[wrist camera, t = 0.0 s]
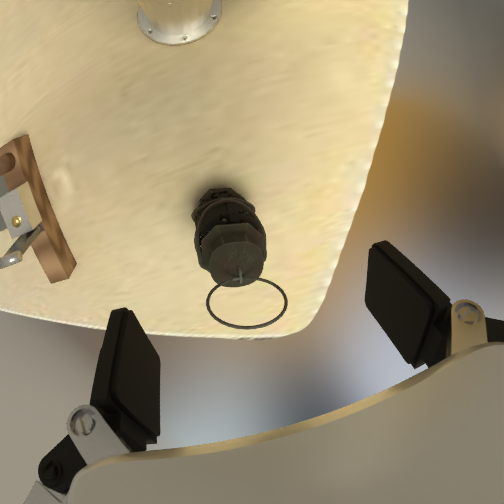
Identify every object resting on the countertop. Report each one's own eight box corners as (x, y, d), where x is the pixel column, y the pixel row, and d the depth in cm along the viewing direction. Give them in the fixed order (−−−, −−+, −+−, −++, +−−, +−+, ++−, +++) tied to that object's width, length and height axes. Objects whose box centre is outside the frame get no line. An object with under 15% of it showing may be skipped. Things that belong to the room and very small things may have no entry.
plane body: (11, 144, 32) (-14, 154, 26) (28, 134, 33) (3, 142, 26) (60, 269, 46) (45, 293, 39) (76, 263, 46) (63, 288, 39)
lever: (22, 230, 35) (-5, 262, 27) (40, 223, 36) (14, 254, 28) (26, 238, 36) (0, 271, 28) (44, 231, 37) (19, 263, 29)
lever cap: (7, 192, 32) (-5, 200, 29) (27, 181, 32) (15, 188, 29) (22, 229, 36) (11, 239, 32) (42, 220, 36) (32, 230, 33)
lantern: (193, 234, 48) (202, 367, 25) (189, 183, 44) (189, 290, 20) (249, 229, 50) (303, 352, 26) (249, 179, 46) (317, 275, 22)
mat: (-17, 186, 34) (-18, 187, 33) (4, 172, 34) (2, 173, 34) (0, 230, 39) (-1, 231, 38) (21, 220, 39) (20, 221, 39)
